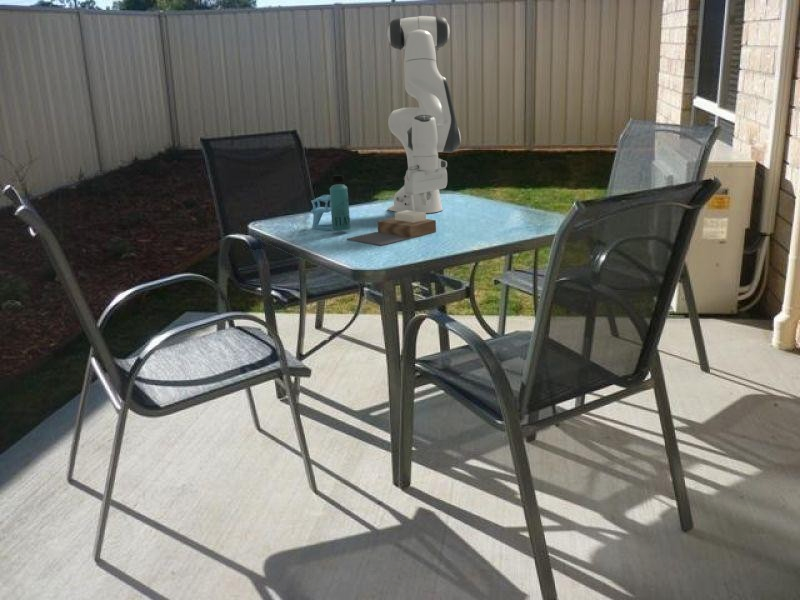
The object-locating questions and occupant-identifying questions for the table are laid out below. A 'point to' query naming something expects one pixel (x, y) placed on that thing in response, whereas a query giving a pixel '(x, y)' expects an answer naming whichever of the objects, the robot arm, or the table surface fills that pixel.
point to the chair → (321, 213)
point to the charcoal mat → (379, 238)
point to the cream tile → (410, 216)
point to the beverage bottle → (339, 204)
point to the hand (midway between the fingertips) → (426, 204)
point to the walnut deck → (406, 227)
